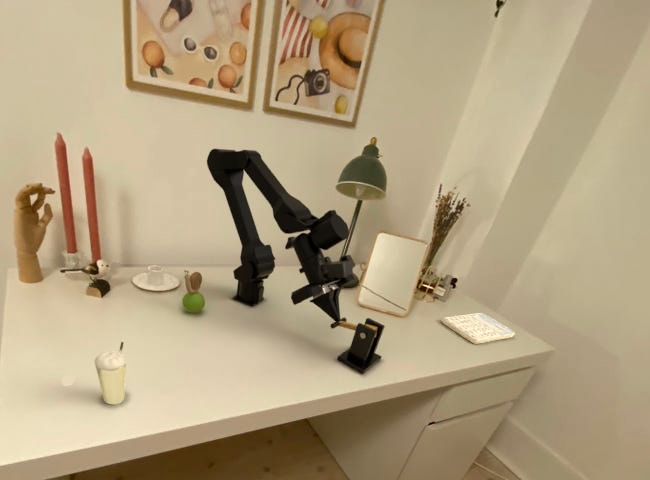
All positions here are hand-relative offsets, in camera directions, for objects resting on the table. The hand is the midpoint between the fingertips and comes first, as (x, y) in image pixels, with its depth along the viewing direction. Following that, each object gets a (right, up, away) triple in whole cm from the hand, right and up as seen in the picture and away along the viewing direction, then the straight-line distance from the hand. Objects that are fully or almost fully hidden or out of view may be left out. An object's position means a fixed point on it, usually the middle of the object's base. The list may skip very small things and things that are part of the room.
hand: (337, 320), depth 89 cm
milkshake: (-42, -16, -24) cm, 51 cm away
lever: (+4, -3, -2) cm, 5 cm away
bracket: (+5, -9, 0) cm, 11 cm away
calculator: (+47, 0, +28) cm, 54 cm away
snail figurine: (-36, +2, +5) cm, 36 cm away
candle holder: (-48, +12, +14) cm, 51 cm away
